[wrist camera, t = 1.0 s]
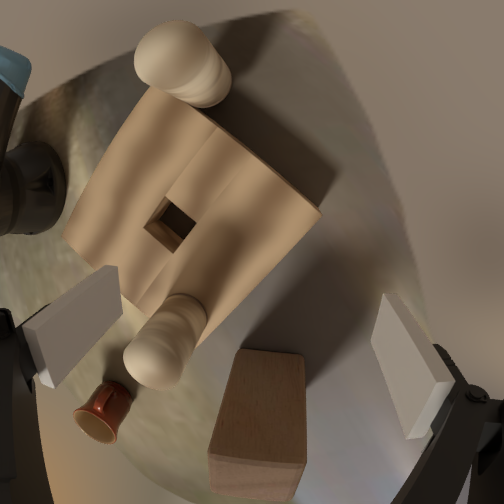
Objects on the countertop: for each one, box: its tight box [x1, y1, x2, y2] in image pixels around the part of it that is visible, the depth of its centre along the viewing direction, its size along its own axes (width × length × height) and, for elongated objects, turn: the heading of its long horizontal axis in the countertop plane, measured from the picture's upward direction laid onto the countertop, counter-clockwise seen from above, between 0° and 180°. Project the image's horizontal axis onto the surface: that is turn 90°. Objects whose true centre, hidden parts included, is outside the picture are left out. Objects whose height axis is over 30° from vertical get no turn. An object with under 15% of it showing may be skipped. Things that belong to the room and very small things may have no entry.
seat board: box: [61, 86, 322, 390], centre depth 32 cm, size 24×24×16 cm
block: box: [208, 348, 307, 501], centre depth 35 cm, size 10×10×20 cm
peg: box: [134, 20, 233, 108], centre depth 27 cm, size 6×6×16 cm
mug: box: [73, 381, 132, 444], centre depth 46 cm, size 12×9×10 cm
